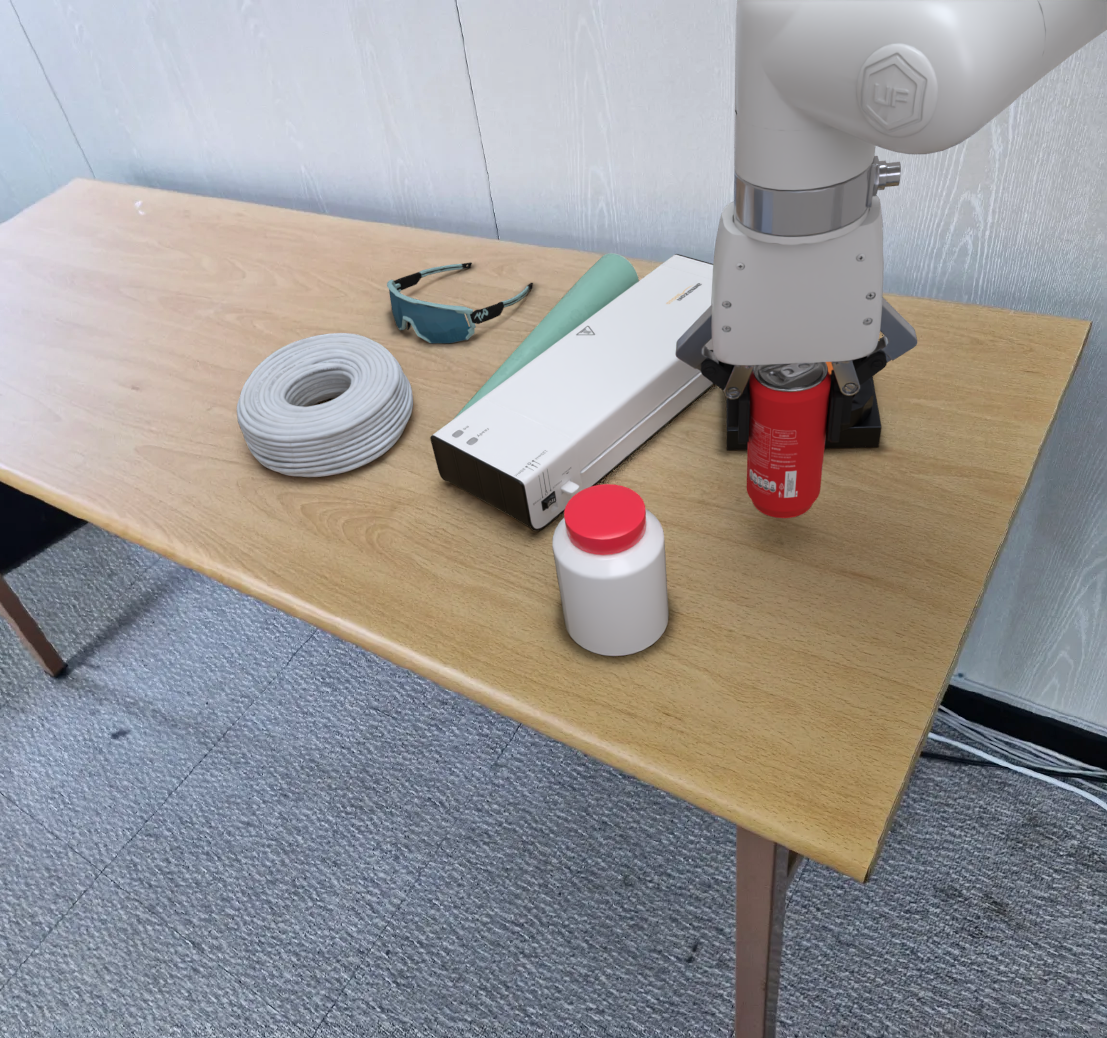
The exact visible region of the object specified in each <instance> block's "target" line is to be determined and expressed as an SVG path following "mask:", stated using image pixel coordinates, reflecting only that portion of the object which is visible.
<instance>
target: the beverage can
mask: <svg viewBox="0 0 1107 1038" xmlns="http://www.w3.org/2000/svg"><path fill="white" fill-rule="evenodd" d="M830 385H831V377H830V374H829V372H828V367H827V364H826V362H815V363H794V364H768V365H755V366H754V371H753V372H752V374H751V376H750V381H749V390H750V417H749V442H748V449H747V450H746V452H747V453H746V454H747V455H746V456H747V457H746V485H745V487H746V488H745V489H746V493H747V495H748V498H750V500H751V503H752V506H753V507H754V508H755V509H756V510H757V511H758V512H759V513H760V514H762V515H764V516H767V517H769V518H772V519H776V520H777V519H778V520H789V519H795V518H798V517H800V516H803V515H805V514H806V513H808V511H810V509H811V508H812V507H813V505H814V503H815V502H816V501H817V499H818V498H819V496H820V493H821V487H822V478H823V477H822V475H823V466H824V458H825V457H824V456H825V448H824V447H825V436H826V426H827V416H828V406H829V395H830Z"/></svg>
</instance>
